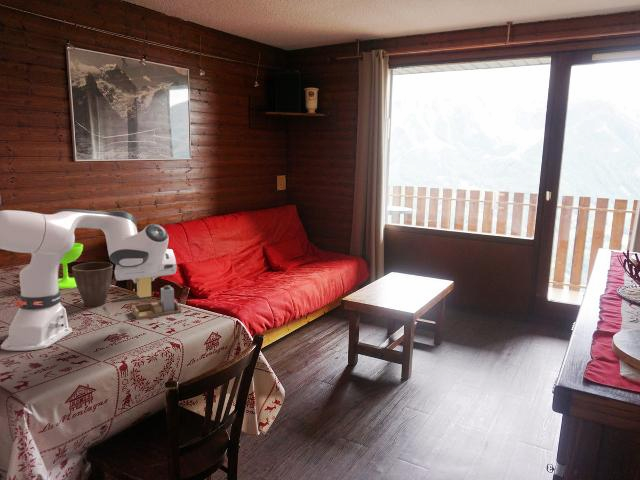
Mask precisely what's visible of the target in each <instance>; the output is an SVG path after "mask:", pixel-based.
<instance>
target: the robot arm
mask: <svg viewBox="0 0 640 480" xmlns="http://www.w3.org/2000/svg"><path fill="white" fill-rule="evenodd" d="M0 205H2V195H1V193H0ZM82 228H83V229H95V230H101V231H102V232H103V233H104V235H105V242H106V246H107V248H106V249H107V252H108V253H107V254H108V257H109V258H108V259H109V261H110V263H111V262H112V263H113V264H114V265H115V267H114V270H113V271H114V278H115V279H116V281H125V280H126V281H127V280H132V282H133V284H137V283H138V281H139V280H138V278H146V277H151V282H154V281H155V279H157V278H158V277H161V276H162V277H163V276H172V275H175V274H176V272H177V268H178V266H177V260H176V255H175V253H174V250H173V249H170V248H168V245H169V240H170V239H169V234H168V232H167V230H166V229H165V227H163V226H161V225H159V224H156V223H151V224H148V225H147V226H145V227H144V228H143V229H142V230H141V231H139V232H138V225H137V219H136V217H135V216H134V215H133V214H131V213H129V212H128V211H124V210H121V211H120V210H116V211H100V210H89V209H88V210H87V209H86V210H85V209H74V208H70V209H69V208H65V209H59V210H57V211H55V212H54V213H53V214H46V213H39V212H33V211H27V210H26V211H25V210H13V209H6V210H5V209H4V210H3V209H2V210H0V250H3V251H4V250H5V251H9V252H14V253H21V254H22V253H23V254H31V258H30V263H29V264H27V265H26V266H25V267H23V268H22V269H21V270H20V272H19V287H20V295H19V298H18V300H15V301H14V307H15V308H16V307H18V310H17V312H16V314H15V315H14V318H13V320H12V322H11V323H10V326H9V328H8V336H7V337H6V338H5V340H4V341H3V342H2V344H0V349H1V350H5V351H21V352H22V351H34V350H35V351H36V350H42V349H46V348H48V347H50V346H52V345H53V344H55V343H56V342H58V341H60V340H61V339H63V338H65V337H66V336H68V335H70V334H71V333H72V332H73V328H72V327H70V326H69V322H68V316H67V315H68V314H67V311H66V308H65V307H64V306H63V304H62V303H61V301H62V294H61V289H59V286H58V279H59V268H60V264H61V263H60V262H61V259H62V258H63V256H64V255H65V254H66V253H67V252H68V251H70V250H71V248H72V247H73V245H74V243H76V235H75V230H76V229H82Z"/></svg>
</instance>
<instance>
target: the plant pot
mask: <svg viewBox="0 0 640 480" xmlns="http://www.w3.org/2000/svg"><path fill="white" fill-rule="evenodd" d="M113 264H114V263H113ZM113 264H112V263H111V262H105V261H94V262H92V261H91V262H85V263H84V262H83V263H79V264H76V265H73V266H72V267H71V272H72V275H73V278H74V279H75V282H76V285H77V287H76V288H77V290H78V292H79V295H80V297H81V300H82V301H83V303H84V305H85V306H86V307H91V308H92V307H99V306H102V305H104V304H106V302H107V298H108V294H109V291H110V289H111V288H110V287H111V283H112V276H113V267H114V266H113Z"/></svg>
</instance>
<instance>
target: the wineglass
mask: <svg viewBox="0 0 640 480" xmlns="http://www.w3.org/2000/svg"><path fill="white" fill-rule="evenodd" d="M83 250H84V244H83V243H78V242H74V245H73V247H72V248H71V250H70V251H68V252H67V253H66V254H65V255H64V256H63V258H62V259H61V262H60V264H62V274H63V277H62V278H58V286H59V290H64V289H67V288H68V289H73V288H77V285H76V282H75V279H74V277H70V276H69V272H68V271H69V269H68V268H69V267H68V264H70V263H72V262H75V261H76V260H77V259H78V258H79V257H80V256H81V255H82V252H83ZM68 289H67V290H68Z"/></svg>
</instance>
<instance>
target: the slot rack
mask: <svg viewBox="0 0 640 480" xmlns="http://www.w3.org/2000/svg"><path fill="white" fill-rule="evenodd" d="M131 313H132V315H133V316H134V317H135V319H136V320H144V319H150V318H157V317H163V316H168V315H169V316H170V315H175V314H181V313H182V307H181V303H179V302H178V301H177V300H176V299H175V298H174V311H170V312H163V311H162V307H161V300H159V301H154V302H145V303H138V304H132V305H131Z"/></svg>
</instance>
